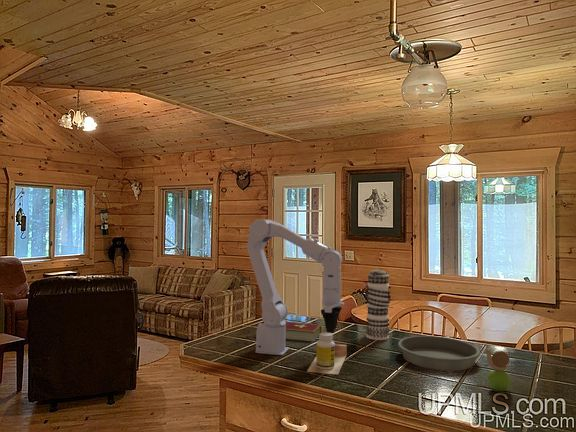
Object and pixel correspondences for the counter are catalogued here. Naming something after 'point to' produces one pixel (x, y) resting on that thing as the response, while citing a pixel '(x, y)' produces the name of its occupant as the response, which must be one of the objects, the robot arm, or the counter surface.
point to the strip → (339, 359)
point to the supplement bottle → (325, 351)
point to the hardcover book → (302, 331)
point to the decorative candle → (377, 305)
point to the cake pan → (438, 352)
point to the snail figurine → (498, 370)
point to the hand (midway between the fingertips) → (331, 330)
